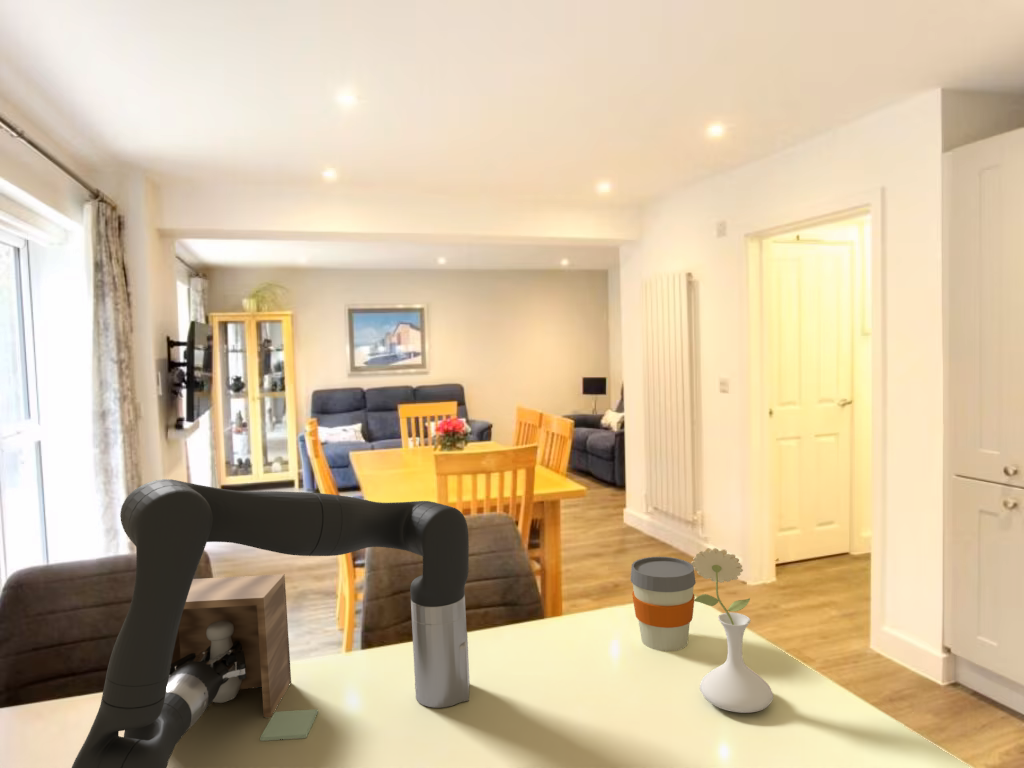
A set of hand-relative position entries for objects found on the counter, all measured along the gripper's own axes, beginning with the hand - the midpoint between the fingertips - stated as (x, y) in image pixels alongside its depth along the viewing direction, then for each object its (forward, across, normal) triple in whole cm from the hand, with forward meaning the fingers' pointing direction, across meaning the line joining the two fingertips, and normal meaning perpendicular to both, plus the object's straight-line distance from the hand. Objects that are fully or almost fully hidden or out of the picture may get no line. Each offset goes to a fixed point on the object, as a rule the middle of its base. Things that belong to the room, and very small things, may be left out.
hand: (227, 646), depth 114 cm
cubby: (-3, 0, +8) cm, 9 cm away
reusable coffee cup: (+11, -81, +9) cm, 82 cm away
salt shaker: (-3, 0, +8) cm, 8 cm away
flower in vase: (-11, -86, +10) cm, 87 cm away
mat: (-11, -14, +9) cm, 20 cm away
